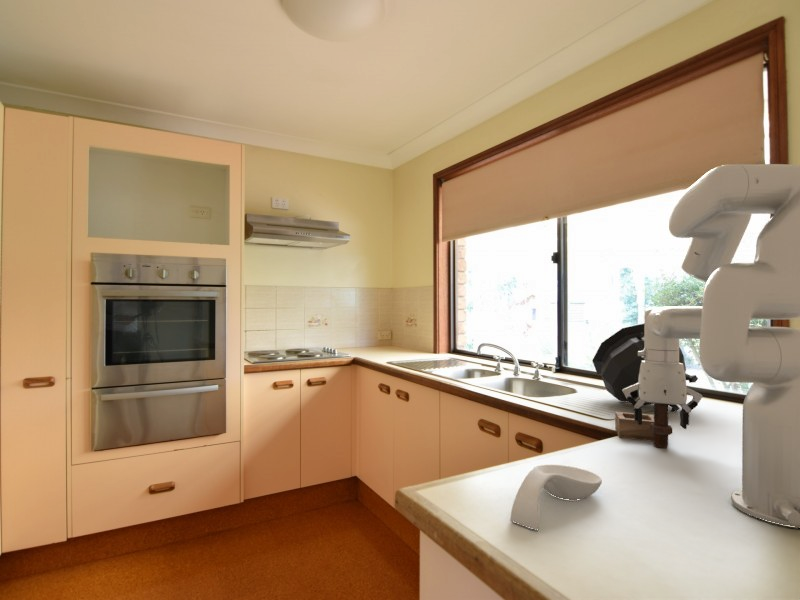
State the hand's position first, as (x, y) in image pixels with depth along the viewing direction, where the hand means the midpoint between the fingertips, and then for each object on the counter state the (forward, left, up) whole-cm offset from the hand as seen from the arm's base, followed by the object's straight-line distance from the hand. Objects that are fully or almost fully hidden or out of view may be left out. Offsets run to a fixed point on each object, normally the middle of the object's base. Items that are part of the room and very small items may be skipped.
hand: (660, 425), depth 111 cm
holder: (+9, +4, -5) cm, 11 cm away
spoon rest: (-43, +25, -6) cm, 50 cm away
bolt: (0, 0, -6) cm, 6 cm away
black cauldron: (+46, -4, -6) cm, 47 cm away
